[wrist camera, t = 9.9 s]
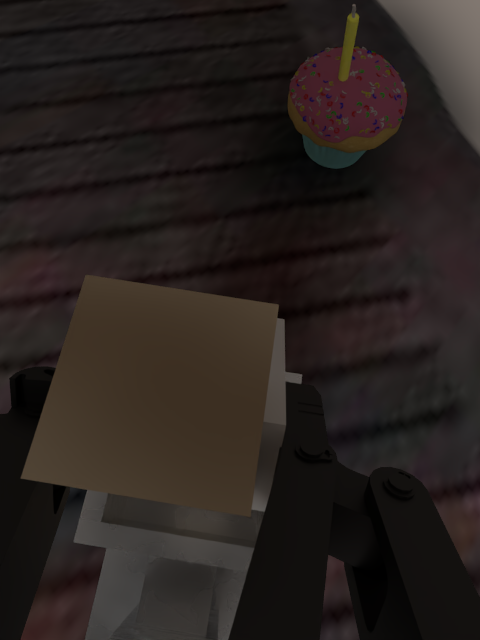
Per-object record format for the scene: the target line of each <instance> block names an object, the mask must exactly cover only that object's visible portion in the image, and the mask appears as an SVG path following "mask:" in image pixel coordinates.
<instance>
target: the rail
mask: <svg viewBox="0 0 480 640" xmlns="http://www.w3.org/2000/svg"><path fill="white" fill-rule="evenodd" d="M278 308H279V305H278V304H271V303H265V302H258V301H252V300H245V299H239V298H233V297H226V296H220V295H213V294H207V293H200V292H194V291H188V290H181V289H175V288H168V287H162V286H155V285H149V284H142V283H136V282H130V281H123V280H117V279H110V278H104V277H97V276H91V275H86V276H85V279H84V282H83V286H82V289H81V292H80V295H79V298H78V301H77V304H76V307H75V310H74V314H73V317H72V320H71V323H70V326H69V329H68V332H67V335H66V339H65V342H64V345H63V348H62V351H61V354H60V357H59V360H58V363H57V367H56V370H55V373H54V376H53V379H52V382H51V385H50V388H49V391H48V395H47V398H46V401H45V404H44V407H43V410H42V413H41V416H40V420H39V423H38V426H37V429H36V432H35V435H34V438H33V441H32V444H31V448H30V451H29V454H28V457H27V460H26V463H25V466H24V469H23V473H22V476H21V479H27V480H33V481H39V482H45V483H51V484H56V485H62V486H68V487H74V488H80V489H86V490H92V491H98V492H104V493H110V494H116V495H122V496H128V497H134V498H140V499H146V500H152V501H158V502H164V503H170V504H176V505H182V506H188V507H194V508H199V509H205V510H211V511H217V512H223V513H229V514H235V515H241V516H247V517H251V510H252V502H253V495H254V487H255V480H256V472H257V465H258V457H259V450H260V443H261V435H262V428H263V420H264V413H265V405H266V398H267V390H268V383H269V375H270V368H271V360H272V353H273V345H274V338H275V330H276V323H277V315H278Z"/></svg>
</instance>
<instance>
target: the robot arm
mask: <svg viewBox="0 0 480 640" xmlns="http://www.w3.org/2000/svg"><path fill="white" fill-rule="evenodd" d="M55 370H56V368H53V367H32V368H27V369H24V370H21V371H19V372H17V373H15V374H14V375H13V376H12V377H10V378H9V379H10V392H11V405H12V408H11V409H10V411H9V413H7V414H0V640H20V639H21V636H22V633H23V630H24V627H25V624H26V621H27V618H28V615H29V612H30V609H31V606H32V603H33V600H34V597H35V594H36V591H37V588H38V585H39V582H40V579H41V576H42V573H43V570H44V567H45V564H46V561H47V558H48V555H49V552H50V549H51V546H52V543H53V540H54V537H55V534H56V531H57V528H58V525H59V522H60V519H61V516H62V513H63V510H64V507H65V504H66V501H67V498H68V495H69V492H70V487H68V486H62V485H56V484H51V483H45V482H39V481H33V480H27V479H21V476H22V473H23V469H24V466H25V463H26V460H27V457H28V454H29V451H30V448H31V444H32V441H33V438H34V435H35V432H36V429H37V426H38V423H39V420H40V416H41V413H42V410H43V407H44V404H45V401H46V398H47V395H48V391H49V388H50V385H51V382H52V379H53V376H54V373H55ZM252 510H258V511H264V516H263V519H262V523H261V526H260V530H259V533H258V537H257V540H256V544H255V547H254V551H253V554H252V558H251V561H250V565H249V568H248V572H247V575H246V579H245V582H244V586H243V589H242V593H241V596H240V600H239V603H238V607H237V610H236V614H235V617H234V621H233V624H232V628H231V631H230V635H229V638H228V640H319V639H320V629H321V619H322V609H323V599H324V590H325V580H326V570H327V560H328V555H331V556H333V557H335V558H337V559H339V560H341V561H343V562H344V567H345V572H346V577H347V581H348V586H349V591H350V595H351V600H352V605H353V609H354V614H355V619H356V624H357V628H358V633H359V638H360V640H480V597H479V595H478V593H477V591H476V589H475V587H474V585H473V583H472V581H471V579H470V577H469V575H468V573H467V571H466V568H465V566H464V564H463V562H462V560H461V558H460V556H459V554H458V552H457V550H456V548H455V546H454V544H453V542H452V540H451V538H450V536H449V534H448V532H447V530H446V527H445V525H444V523H443V521H442V519H441V517H440V515H439V513H438V511H437V509H436V507H435V505H434V503H433V501H432V499H431V497H430V495H429V493H428V491H427V489H426V488H425V486H424V485H423V484H422V482H420V481H419V480H418V479H417V478H415V477H414V476H413V475H411V474H409V473H407V472H405V471H403V470H400V469H396V468H392V467H381V468H378V469H376V470H374V471H373V472H372V474H371V475H370V477H367V476H365V475H362V474H360V473H357V472H355V471H353V470H351V469H348V468H346V467H345V466H344V465H342V464H341V463H339V462H338V461H337V456H336V453H335V451H334V450H333V449H332V447H331V446H329V445H328V439H327V432H326V426H325V419H324V412H323V408H322V399H321V395H320V394H319V393H318V391H317V390H316V389H315V388H314V386H311V385H305V384H298V383H292V382H286V381H285V321H284V319H279V318H277V323H276V330H275V338H274V345H273V353H272V360H271V368H270V375H269V383H268V390H267V398H266V405H265V413H264V420H263V428H262V435H261V443H260V450H259V457H258V465H257V472H256V480H255V487H254V495H253V502H252Z"/></svg>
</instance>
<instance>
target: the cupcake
mask: <svg viewBox="0 0 480 640" xmlns="http://www.w3.org/2000/svg"><path fill="white" fill-rule="evenodd" d="M355 11H356V5H355V4H353V5H352V13H351V14H349V16H348V18H347V25H346V31H345V37H344V44H343V47H340V48H338V47H335V48H331V49H330V48H326V49H328V50H326V49H325V51H321V53H319V54H315V55H314V56H313V57H311V58H309V57H308V58H307V60H305V61H306V62H304V63H302V64H301V66H300V67H299V69H298V70H297V72H296V73H295V75H294V77H293V78H292V79H291V83H290V91H289V95H288V113H289V116H290V118H291V120H292V121H293V123H294V126H295V128H296V130H297V131H298V132H299V133H301V134H302V136H303V143H304V148H305V151H306V153H307V154H308V156H309V157H310V158H311V159H312V160H313V161H314V162H316V163H317V164H319V165H321V166H324V167H327V168H335V169H338V168H345V167H348V166H350V165H352V164H354V163H355V162H356V161H357V160H358V159H359V158H360V157H361V156H362V155H363V154H364V153H365V152H366V151H367V150H370V149H374V148H376V147H378V146H379V145H381V144H382V143H384V142H385V141H386V140H387V139H388V138H389V137H391V136H392V135H394V134H395V133H396V132H397V131H398V129H399V126H400V124H401V121H402V119H403V118H404V117H403V116H404V113H405V108H406V105H407V97H408V94H407V92H406V89H405V88H404V86H405V84H404V82H403V80H402V79H400V77H399V75H398V74H399V73H398V72H396V71H395V69H394V67H393V66H391V65H390V64H389V63H390V62H388V61H387V60H385V59H384V58H383V56H382V55H380V56H379V55H377V54H376V53H375V52H374V51H368V50H366V48H365V47H362V49H361V48H359V47H354V43H355V38H356V32H357V27H358V22H359V15H358V14H356V13H355ZM363 48H364V49H363ZM403 84H404V85H403Z"/></svg>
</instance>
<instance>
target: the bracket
mask: <svg viewBox="0 0 480 640" xmlns="http://www.w3.org/2000/svg"><path fill="white" fill-rule="evenodd" d="M285 381H286V382H292V383H298V384H301V381H302V374H296V373H290V372H285ZM263 516H264V511H258V510H251V517H247V516H241V515H235V514H229V513H223V512H217V511H211V510H205V509H199V508H194V507H188V506H182V505H176V504H170V503H164V502H158V501H152V500H146V499H140V498H134V497H128V496H122V495H116V494H110V493H104V492H98V491H92V490H87V493H86V497H85V500H84V504H83V508H82V512H81V515H80V519H79V523H78V527H77V531H76V534H75V538H74V542H75V543H81V544H87V545H92V546H98V547H104V548H107V549H106V553H105V558H104V562H103V566H102V570H101V574H100V579H99V583H98V587H97V591H96V595H95V600H94V604H93V608H92V612H91V616H90V620H89V625H88V629H87V633H86V637H85V640H228V638H229V635H230V631H231V628H232V624H233V621H234V617H235V614H236V610H237V607H238V603H239V600H240V596H241V593H242V589H243V586H244V582H245V579H246V575H247V572H248V568H249V565H250V561H251V558H252V554H253V551H254V547H255V544H256V540H257V537H258V533H259V530H260V526H261V523H262V519H263Z"/></svg>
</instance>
